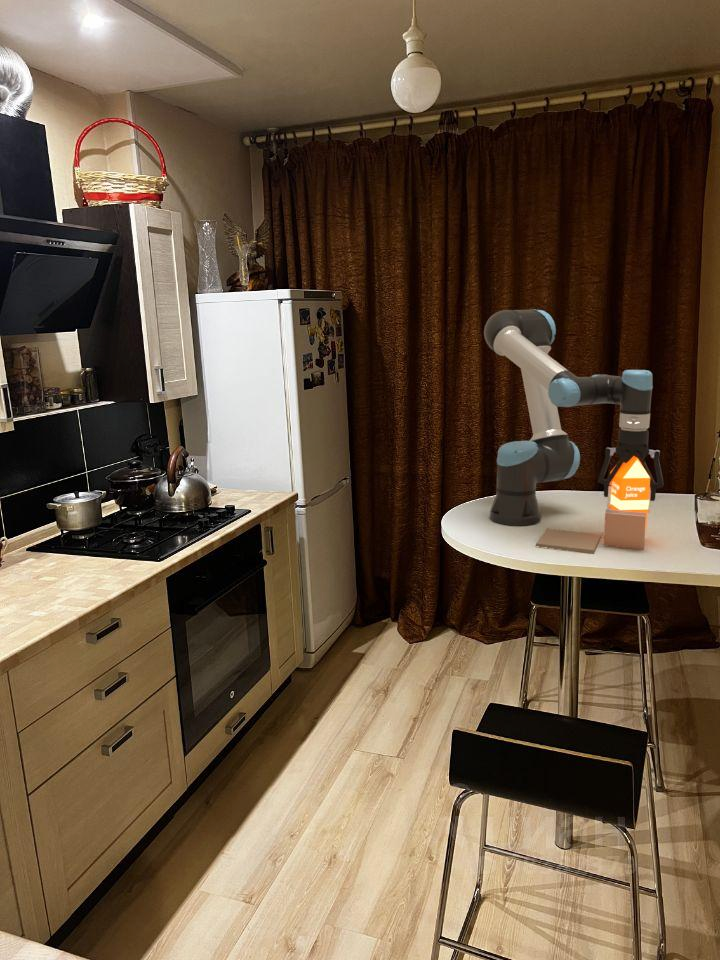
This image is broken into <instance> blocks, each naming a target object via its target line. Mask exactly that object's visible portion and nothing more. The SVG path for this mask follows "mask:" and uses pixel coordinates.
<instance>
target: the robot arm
mask: <svg viewBox="0 0 720 960" xmlns="http://www.w3.org/2000/svg"><path fill="white" fill-rule="evenodd" d="M556 331H557V329H556V324H555V320H554V319H553V317H552V316H551V315H550V313H548V312H546V311H545V310H542V309H533V308H529V309H502V310H499V311H497V312H495V313H493V314H492V315H491V316H490V317H489V318H488V319H487V321H486V323H485V325H484V329H483V335H484V340H485V342H486V344H487V345H488V347H489V348H490V349H491V350H492V351H493V352H495V354H497V355H498V356H501V357H502V356H503V357H504V356H505V357H506V358H507V359H508V360H510V361H511V362H513V364H515V365H516V366H517V367H519V369H520V371H521V376H522V381H523V387H524V392H525V397H526V402H527V407H528V408H527V409H528V413H529V419H530V420H529V421H530V426H531V430H532V437H531V438H530V439H529V440H518V441H516V440H514V441H510V442H507V443H504V444H502V445H500V446H499V448H498V450H497V458H496V465H497V466H496V494H495V497H494V500H493V502H492V505H491V508H490V511H489V519H490V520H491V521H492V522H495V523H497V524H500V525H507V526H531V525H535V524H538V523H540V522H541V520H542V519H541V518H542V512H541V509H540V505H539V503H538V502H539V501H538V499H537V496H536V492H537V484H540V483H548V482H557V481H562V480H565V479H570V478H572V477H573V476H574V475H575V474H576V472H577V470H578V469H579V466H580V461H581V455H580V450H579V448H578V446H577V445H576V443H574V442H573V441H570V439H569V435H568V433H567V432H566V431H564V430H562V426H561V422H560V420H561V419H560V415H559V411H558V410H559V409H558V408H559V407H560V408H562V407H563V408H572V407H577V406H586V405H587V406H588V405H589V406H590V405H600V404H610V405H611V404H613V405H618V406H620V407H619V424H618V426H619V428H620V429H619V430H618V437H617V446H616V447H609V446H607V447H606V448H605V450H604V454H605V457H604V461H603V464H602V467H601V469H600V472H599V476H598V478H597V483H598V484H602V485H603V497H604V498H607V505H606V507H607V510H610V509H611V495H612V485H610V482H611V481H612V479H613V478H614V476H615V475H616V473H617V472H618V470H619V468H620V467H621V466H622V464H623V463H627V462H628V461H629V460H630V459H631V458H632V457H633V456H635V457H637V458H638V459H639V461H640V462H641V464H642V466H643V467H644V469H645V470H646V472H647V474H648V475H649V477H650V478H651V479H650V488H649V503H648V513H647V514H650V512H651V502H655V501H656V493H657V489H660V488H661V489H662V488H664V484H665V483H664V478H663V474H662V467H661V464H660V454H661V450H659V449H656V450H654V449H650V448H649V435H650V433H649V432H650V431H649V430H648V429H649V428H650V421H651V403H652V396H653V395H652V393H653V388H654V386H653V373H652V372H651V371H650V370H646V369H626V370H624V371H623V372H622V375H621V376H619V375H618V376H617V375H609V374H604V373H603V374H593V375H591V376H580V377H578V376H577V375H575V374H574V373H572V372H571V371H570V370H568V369H567V368H565V366H563V365H561V364H560V363H559V362H558V361H557V360H555V359H554V358H552V357H551V356H550V355H549V352H550V351H551V350H552V347H551V345H552V344H553V342H554V341H555V336H556V333H557V332H556ZM615 453H616V454H617V456H618V457H619V458H620V459H619V460H618V461H617V463H616V464H615V466H613V468H614V469H613V468H612V469H611V471H612V472H611V471H610V472H611V474H610V473H609V474H608V477H607V478H605V475H606V472H607V470H608V467H609V463H610V460H611V457H613V456H614V454H615ZM648 455H650V458H651V459H653V464H654V470H655V476H656V481H657V482H655V480H654V477H653V475H652V473H651V471H650V469H649V468H648V465H647V463H646V461H645V458H646V457H647V456H648Z"/></svg>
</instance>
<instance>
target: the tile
mask: <svg viewBox="0 0 720 960" xmlns="http://www.w3.org/2000/svg"><path fill="white" fill-rule="evenodd" d="M645 526H646V513H640V512H629V511H618V510H607V509H605V512H604V536H603V546H604V545H608V546H607V547H614V546H617V548H623V547H626V548H625V549H632V548H633V550H642V551H643V550H644V549H645V541H646V540H645V537H646V531H645ZM646 527H647V526H646Z"/></svg>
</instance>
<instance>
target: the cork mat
mask: <svg viewBox="0 0 720 960" xmlns="http://www.w3.org/2000/svg"><path fill="white" fill-rule="evenodd" d="M602 536H603V534H601V533H594V532H593V533H592V532H584V531H577V530H576V531H573V530H564V529H557V528H556V529H555V528H546V529H545V531H544V532H543V533H542V535H541V536H540V537H539V539H538V540H537V541H536V542H535V547H536V546H539V547H538V548H541V547H547V548H546V549H549V548H554V549H553V550H557V549H561V550H560V551H566V550H568V551H567V552H574V551H575V552H574V553H582V552H583V553H584V554H591V553H592V554H593V555H594V554H595V552H596V550H597V548H598V545H599V544H600V542H601V540H600V539H602ZM583 553H582V554H583Z"/></svg>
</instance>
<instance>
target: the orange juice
mask: <svg viewBox="0 0 720 960" xmlns="http://www.w3.org/2000/svg"><path fill="white" fill-rule="evenodd" d="M613 469H614V467H613V468H612V470H613ZM612 470H611V471H610V472H609V475H610V474H611V472H612ZM650 479H651V478H650V477H649V475H648V474H647V472H646V470H645V469H644V467H643V466H642V464H641V462H640V461H639V459H638V458H637V457H635V456H633V457H632V458H631V459H630V460H629V461H628V462H627V463H623V464H622V466H621V467H620V468H619V470H618V472H617V473H616V475H615V476H614V478H613V479H612V481H611V482H610V485H612V495H611V509H610V510H618V511H629V512H640V513H646V526H645V532H646V531H647V524H648V514H649V513H648V503H649V488H651V487H650Z"/></svg>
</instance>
